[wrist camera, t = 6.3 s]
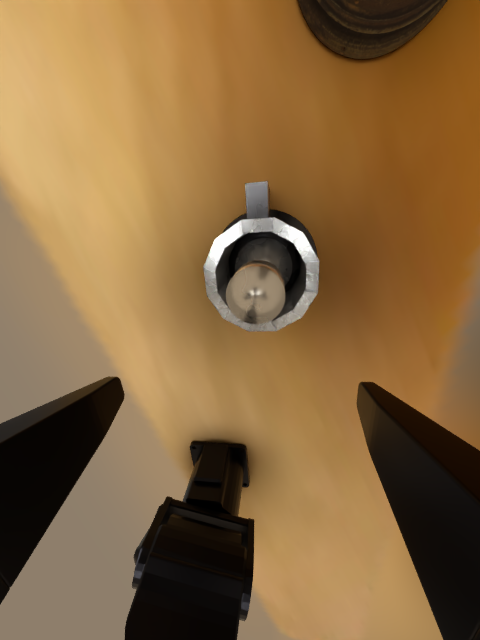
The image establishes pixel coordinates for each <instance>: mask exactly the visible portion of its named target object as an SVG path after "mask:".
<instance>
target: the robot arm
mask: <svg viewBox="0 0 480 640" xmlns="http://www.w3.org/2000/svg"><path fill="white" fill-rule="evenodd" d="M123 400H124V391H123V387H122V384H121V381H120V379H119V378H118V377H106V378H104V379H102V380H99V381H97V382H95V383H92V384H90V385H88V386H85V387H83V388H81V389H79V390H76V391H74V392H72V393H69V394H67V395H65V396H63V397H60V398H58V399H56V400H53V401H51V402H49V403H47V404H44V405H42V406H40V407H37V408H35V409H33V410H31V411H28V412H26V413H24V414H22V415H19V416H17V417H15V418H12V419H10V420H8V421H6V422H3V423H1V424H0V604H1V602H2V601H3V599H4V598H5V596H6V595H7V593H8V591H9V589H10V587H11V586H12V584H13V583H14V581H15V579H16V578H17V577H18V575H19V573H20V572H21V570H22V568H23V567H24V565H25V564H26V562H27V560H28V559H29V557H30V556H31V554H32V553H33V551H34V549H35V548H36V546H37V545H38V543H39V541H40V540H41V538H42V537H43V535H44V533H45V532H46V530H47V529H48V527H49V525H50V524H51V522H52V520H53V519H54V517H55V516H56V514H57V512H58V511H59V509H60V507H61V506H62V504H63V503H64V501H65V500H66V498H67V496H68V495H69V493H70V492H71V490H72V488H73V487H74V485H75V484H76V482H77V481H78V479H79V477H80V476H81V474H82V472H83V471H84V469H85V468H86V466H87V465H88V463H89V461H90V459H91V458H92V457H93V455H94V453H95V452H96V450H97V449H98V447H99V445H100V444H101V442H102V440H103V439H104V437H105V435H106V433H107V432H108V430H109V428H110V426H111V424H112V422H113V420H114V418H115V416H116V414H117V412H118V410H119V408H120V406H121V404H122V402H123ZM357 409H358V413H359V417H360V420H361V424H362V428H363V431H364V435H365V439H366V442H367V446H368V449H369V452H370V455H371V458H372V461H373V463H374V466H375V468H376V471H377V473H378V476H379V478H380V481H381V483H382V486H383V488H384V491H385V493H386V496H387V498H388V501H389V503H390V506H391V509H392V511H393V514H394V516H395V519H396V521H397V524H398V526H399V529H400V531H401V534H402V536H403V539H404V541H405V544H406V546H407V549H408V551H409V554H410V556H411V559H412V561H413V564H414V566H415V569H416V572H417V574H418V577H419V579H420V582H421V584H422V587H423V589H424V592H425V594H426V597H427V599H428V602H429V604H430V607H431V610H432V612H433V615H434V617H435V620H436V622H437V625H438V627H439V629H440V632H441V635H442V637H443V640H480V451H479V450H478V449H476V448H475V447H473V446H472V445H470V444H468V443H467V442H465V441H464V440H462V439H461V438H459V437H457V436H456V435H454V434H453V433H451V432H450V431H448V430H447V429H445V428H444V427H442V426H440V425H439V424H437V423H436V422H434V421H433V420H431V419H430V418H428V417H426V416H425V415H423V414H422V413H420V412H419V411H417V410H416V409H414V408H412V407H411V406H409V405H408V404H406V403H405V402H403V401H402V400H400V399H398V398H397V397H395V396H394V395H392V394H391V393H389V392H388V391H386V390H384V389H383V388H381V387H380V386H378V385H377V384H375V383H373V382H360V383H359V387H358V395H357ZM241 449H242V450H241ZM190 451H191V456H192V460H193V465H194V469H193V472H192V475H191V478H190V481H189V484H188V487H187V490H186V493H185V496H184V499H183V502H182V501H179V500H175V499H172V497H166V499H165V501H164V503H163V504H162V505H161V506H159V508H158V511H157V513H156V515H155V518H154V520H153V522H152V524H151V526H150V528H149V530H148V531H147V533H146V535H145V536H144V538H143V539H142V541H141V543H140V545H139V546H138V547H137V549H136V551H135V554H134V561H135V565H136V567H135V572H134V577H133V582H132V588H134V589H137V590H136V593H135V596H134V599H133V602H132V605H131V608H130V611H129V614H128V617H127V621H126V626H125V640H237V634H238V626H239V620H242V621H245V620H246V618H247V614H248V609H249V604H250V598H251V590H252V581H253V564H254V519H250V518H248V519H246V518H242V517H238V514H239V506H240V498H241V491H242V487H248V486H249V472H248V460H247V449H246V447H245V446H244V445H237V444H222V443H207V442H192V443H191V445H190Z"/></svg>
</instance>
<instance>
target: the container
mask: <svg viewBox="0 0 480 640" xmlns="http://www.w3.org/2000/svg"><path fill="white" fill-rule="evenodd" d="M298 1H299V5H300V8H301V10H302V13H303V16H304V18H305V20H306V22H307V24H308V25H309V27H310V29H311V30H312V32H313V33H314V34H315V36H316V37H317V38H318V39H319V40H320V41H321V42H322V43H323V44H324V45H326V46H327V47H328V48H329V49H331V50H333V51H334V52H336V53H338V54H341V55H344V56H346V57H350V58H356V59H368V58H375V57H378V56H382V55H384V54H387V53H389V52H391V51H393V50H395V49H397V48H398V47H400V46H401V45H403V44H404V43H406V42H407V41H409V40H410V39H411V38H412V37H414V36H415V35H416V34H417V33H418V32H420V31H421V30H422V29H423V28H424V27H425V26H426V25H427V24H428V23H429V21H430V20H432V19H433V18H434V16H435V15H436V14H437V13H438V12H439V11H440V10H441V8H442V7H443V6H444V4H445V3H446V2H447V0H298Z"/></svg>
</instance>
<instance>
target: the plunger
mask: <svg viewBox="0 0 480 640" xmlns="http://www.w3.org/2000/svg"><path fill="white" fill-rule="evenodd" d="M235 271H236V273H235V274H234V276H233V277H232V278H231V280H230V281H229V283H228V286H227V289H226V301H227V305H228V307H229V309H230V311H231V312H232V313H233V314H234V315H235V316H236V317H237V318H238V319H240V320H241V321H243V322H246V323H249V324H263V323H266V322H269V321H271V320H272V319H274V318H275V317H276V316H277V315H278V314H279V313H280V312H281V310H282V308H283V306H284V303H285V285H286V284H287V282H288V281H289V279H290V276H291V273H292V260H291V257H290V254H289V252H288V250H287V249H286V248H285V246H284V245H282V244H281V243H280V242H278V241H276V240H274V239H271V238H258V239H255V240H252V241H251V242H249V243H248V244H246V245H245V246H244V247H243V248H242V249H241V251H240V252H239V254H238V256H237V259H236V263H235Z"/></svg>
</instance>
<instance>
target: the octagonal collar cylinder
mask: <svg viewBox="0 0 480 640" xmlns="http://www.w3.org/2000/svg"><path fill="white" fill-rule="evenodd" d="M245 191H246V208H247V213H246V214H244V215H241V216H240V217H238V218H237V219H235V220H234V221H233V222H231V223H230V224H229V225H228V226H227V227H226V229H225V230H224V231H223V233H222V234H221V235H220V236H219V237H217V238H216V239H215V240H214V243H213V245H212V248H211V250H210V253H209V255H208V257H207V260H206V262H205V265H204V267H203V268H204V276H205V284H206V291H207V297H208V298H209V299H210V301H211V302H212V304H213V305H214V306H215V308H216V309H217V310H218V312H219V313H220V315H221V316H222V317H223V319H225V320H227V321H229V322H231V323H233V324H235V325H237V326H239V327H241V328H243V329H245V330H247V331H277V330H279V329H281V328H283V327H285V326H287V325H289V324H291V323H292V322H294V321H296V320H298V319H300V318H302V316H303V315H304V313H305V312H306V310H307V309H308V307H309V306H310V304H311V303H312V301H313V300H314V298H315V296H316V295H317V293H318V283H319V260H318V258H317V250H316V246H315V243H314V241H313V239H312V236H311V235H310V233H309V232H308V230H307V229H306V228H305V226H304V225H303V224H302V223H301V222H299V221H298V220H297V219H296V218H294V217H292V216H291V215H289V214H287V213H284V212H281V211H278V210H271V209H270V189H269V185H268V182H267V181H265V182H255V183H245ZM258 238H271V239H274V240H276V241H278V242H280V243H281V244H282V245H284V246H285V248H286V249H287V250H288V252H289V254H290V257H291V260H292V273H291V276H290V279H289V281H288V282H287V284H286V285H285V303H284V306H283V308H282V310H281V312H280V313H279V314H278V315H277V316H276V317H275V318H274V319H272V320H271V321H269V322H266V323H263V324H249V323H246V322H243V321H241V320H240V319H238V318H237V317H236V316H235V315H234V314H233V313H232V312H231V311H230V309H229V307H228V305H227V301H226V289H227V286H228V283H229V281H230V280H231V278H232V277H233V276H234V274H235V273H236V271H235V263H236V259H237V256H238V254H239V252H240V251H241V249H242V248H243V247H244V246H245V245H246V244H248V243H249V242H251V241H252V240H255V239H258Z"/></svg>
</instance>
